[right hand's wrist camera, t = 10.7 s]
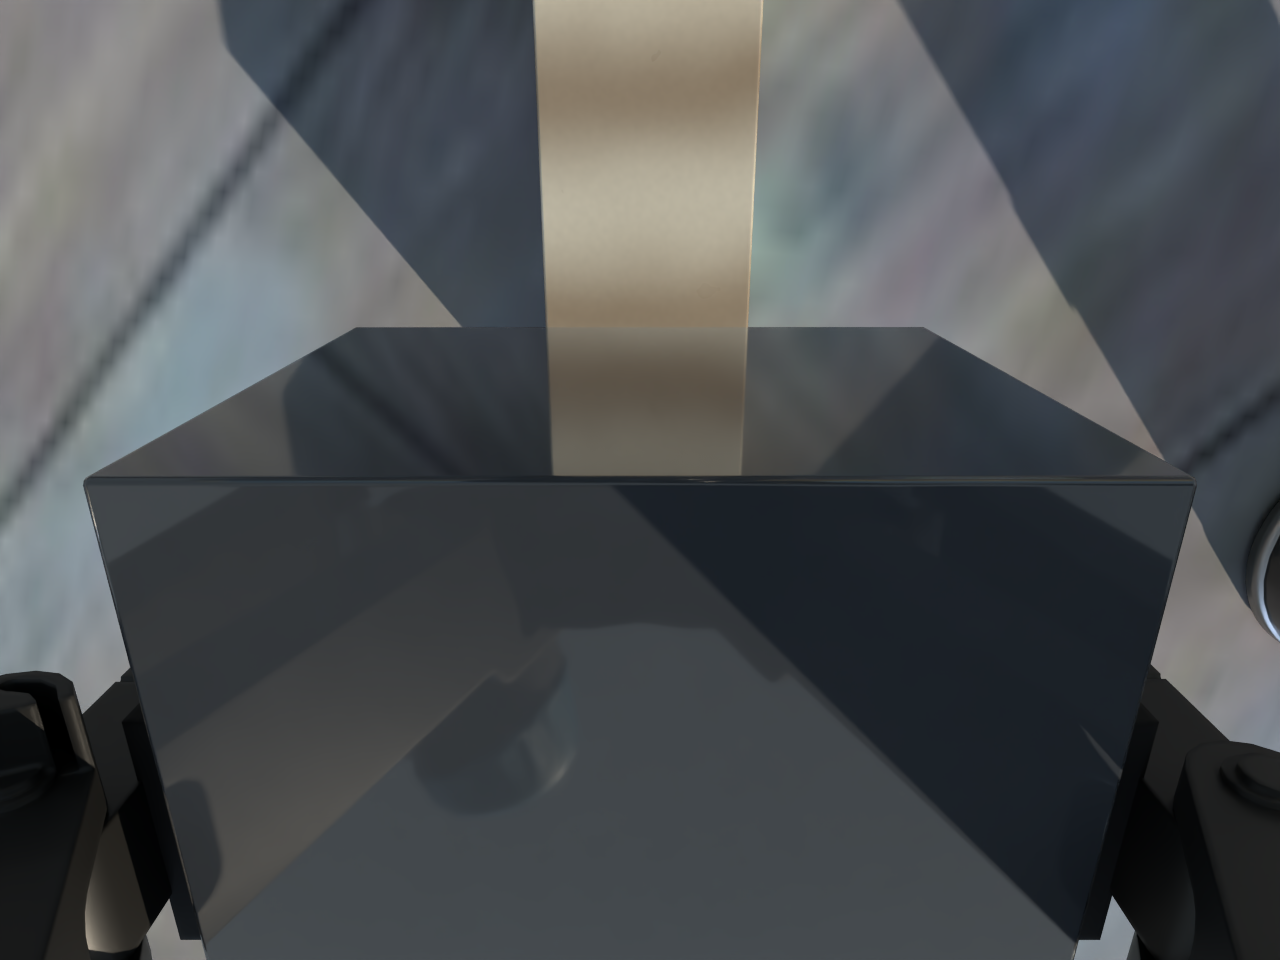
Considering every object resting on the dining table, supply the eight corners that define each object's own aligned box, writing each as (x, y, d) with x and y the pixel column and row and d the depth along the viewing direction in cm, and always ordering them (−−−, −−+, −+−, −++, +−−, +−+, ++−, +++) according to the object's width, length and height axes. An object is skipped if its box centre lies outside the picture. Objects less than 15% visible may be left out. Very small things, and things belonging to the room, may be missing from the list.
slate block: (869, 785, 14) (1017, 1185, 9) (410, 786, 14) (262, 1185, 9) (926, 326, 11) (1202, 478, 6) (352, 326, 11) (77, 478, 6)
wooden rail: (725, 452, 31) (739, 503, 26) (566, 452, 31) (552, 503, 26) (758, -379, 22) (788, -524, 18) (538, -379, 22) (510, -523, 18)
